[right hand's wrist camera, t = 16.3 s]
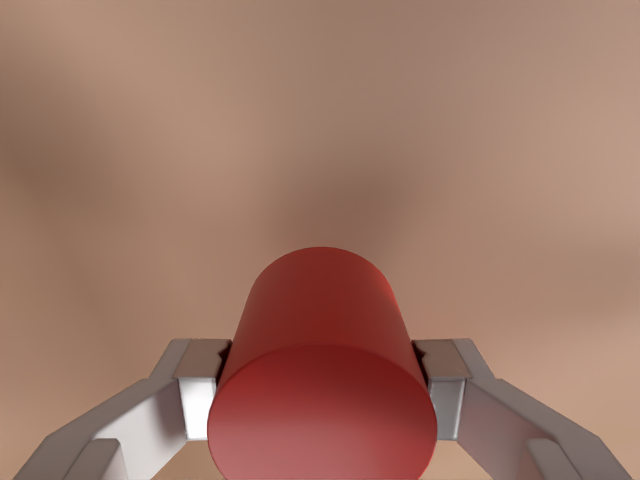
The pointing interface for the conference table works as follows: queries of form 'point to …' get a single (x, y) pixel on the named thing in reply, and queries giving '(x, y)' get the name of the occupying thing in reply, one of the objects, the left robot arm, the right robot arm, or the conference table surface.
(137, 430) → the right robot arm
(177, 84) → the conference table surface
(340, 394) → the canister
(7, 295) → the conference table surface
